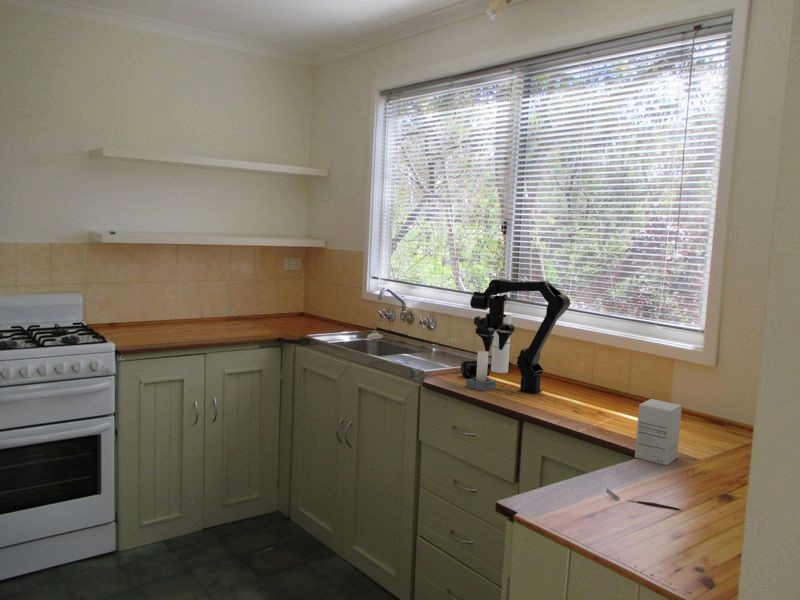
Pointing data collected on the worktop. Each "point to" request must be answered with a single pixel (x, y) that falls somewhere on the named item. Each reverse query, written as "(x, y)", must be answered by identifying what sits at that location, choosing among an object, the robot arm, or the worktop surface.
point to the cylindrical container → (501, 351)
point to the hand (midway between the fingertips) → (494, 351)
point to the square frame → (481, 384)
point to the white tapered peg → (482, 366)
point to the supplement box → (658, 431)
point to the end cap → (470, 369)
